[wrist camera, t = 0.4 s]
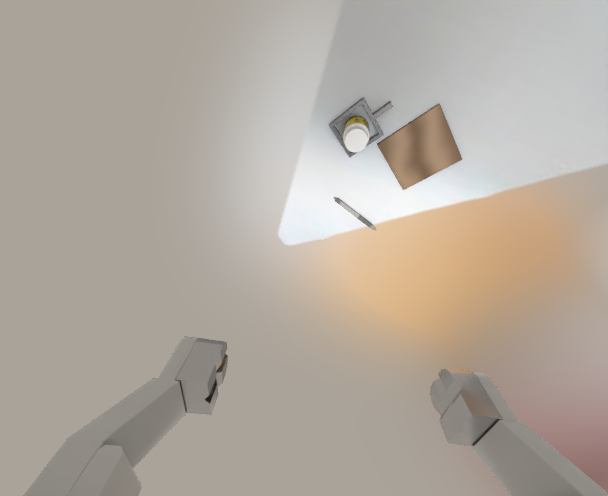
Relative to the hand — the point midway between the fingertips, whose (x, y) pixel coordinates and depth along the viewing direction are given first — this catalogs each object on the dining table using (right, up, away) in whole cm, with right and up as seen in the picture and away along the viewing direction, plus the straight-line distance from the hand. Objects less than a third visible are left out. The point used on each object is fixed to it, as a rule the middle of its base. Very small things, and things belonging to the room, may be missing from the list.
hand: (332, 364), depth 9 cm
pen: (+12, +13, +52) cm, 55 cm away
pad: (+22, +24, +40) cm, 52 cm away
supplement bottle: (+9, +28, +40) cm, 50 cm away
